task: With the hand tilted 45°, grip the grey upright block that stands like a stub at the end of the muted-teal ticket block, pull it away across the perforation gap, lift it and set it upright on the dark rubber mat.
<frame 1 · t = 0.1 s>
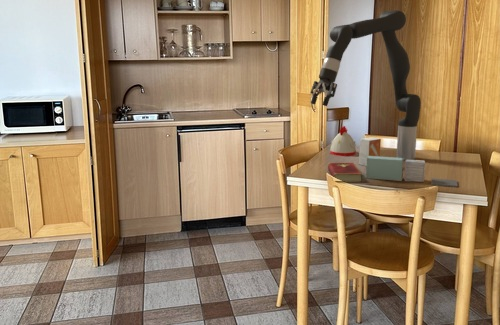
hand: (318, 104, 213), 31 cm above the table, tool tilted 20°, fingers open, 8 cm apart
grey upright block: (414, 181, 206), on the table
rubber mat: (444, 183, 201), on the table
hardcover book: (343, 176, 215), on the table
ticket block: (384, 178, 210), on the table
small box: (369, 165, 235), on the table
cream red beanie hat: (342, 153, 262), on the table
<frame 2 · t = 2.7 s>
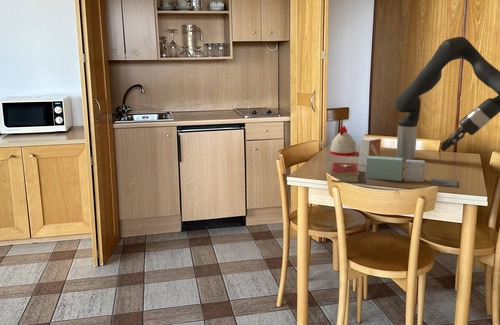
hand: (442, 147, 198), 15 cm above the table, tool tilted 45°, fingers open, 8 cm apart
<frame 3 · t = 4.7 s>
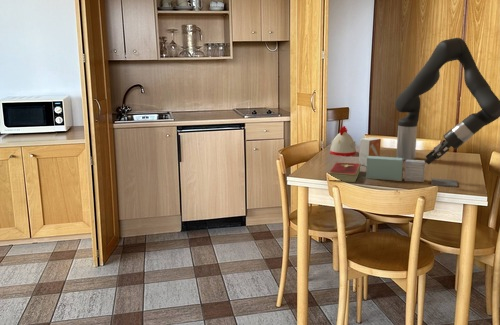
hand: (426, 160, 202), 9 cm above the table, tool tilted 45°, fingers open, 8 cm apart
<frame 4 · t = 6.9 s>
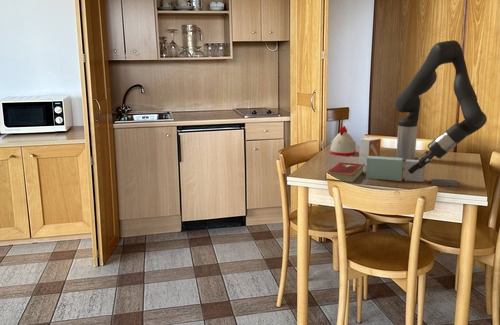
hand: (410, 170, 205), 4 cm above the table, tool tilted 45°, fingers closed on grey upright block, 4 cm apart
grey upright block: (414, 180, 206), on the table, touching gripper
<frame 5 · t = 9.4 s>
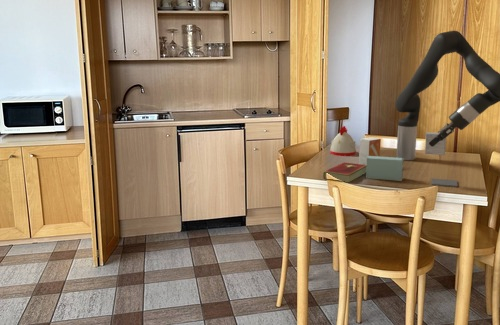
hand: (430, 143, 199), 17 cm above the table, tool tilted 45°, fingers closed on grey upright block, 4 cm apart
grey upright block: (434, 154, 199), point 12 cm above the table, touching gripper
when the fingers open (6 cm above the table, at t = 12.0 s): grey upright block stays where it is, resting on rubber mat.
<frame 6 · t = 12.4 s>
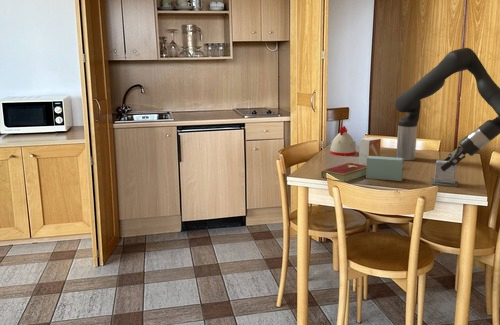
hand: (441, 167, 200), 7 cm above the table, tool tilted 45°, fingers open, 8 cm apart
grey upright block: (444, 182, 201), resting on rubber mat
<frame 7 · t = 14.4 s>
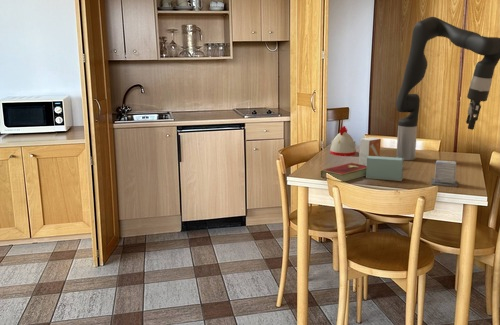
hand: (469, 126, 198), 24 cm above the table, tool pointing down, fingers open, 8 cm apart
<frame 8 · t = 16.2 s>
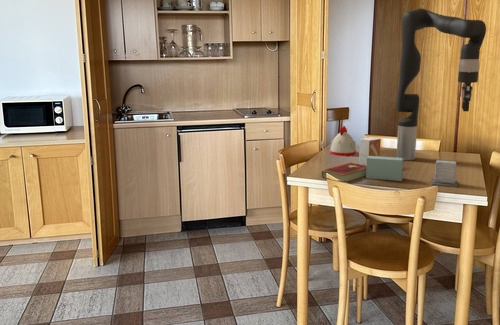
hand: (465, 110, 199), 30 cm above the table, tool pointing down, fingers open, 8 cm apart
at the end: grey upright block inside the target area (0.1 cm from its centre), resting on rubber mat; grey upright block tilted 0°; grey upright block moved 12.1 cm from its start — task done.
